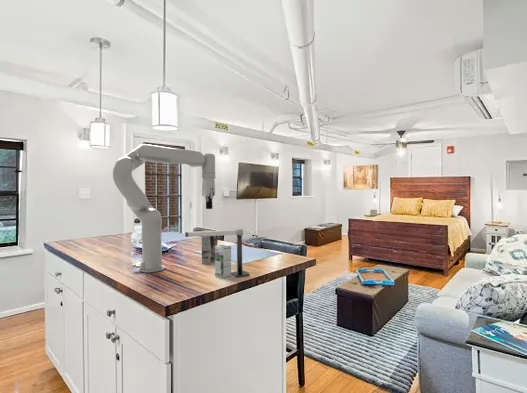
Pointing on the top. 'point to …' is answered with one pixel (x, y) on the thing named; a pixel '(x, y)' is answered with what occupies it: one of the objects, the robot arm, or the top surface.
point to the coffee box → (208, 249)
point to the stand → (239, 260)
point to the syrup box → (222, 261)
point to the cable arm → (214, 233)
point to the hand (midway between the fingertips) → (209, 208)
